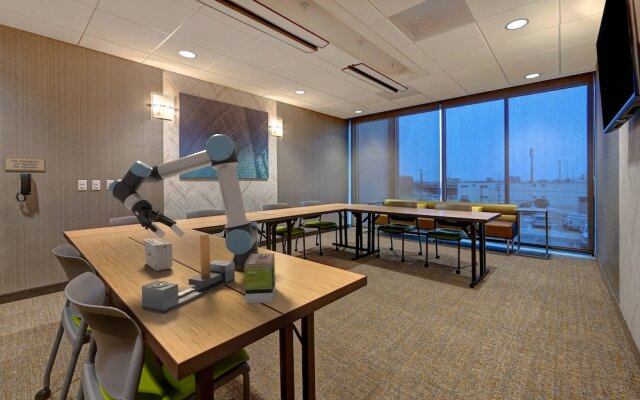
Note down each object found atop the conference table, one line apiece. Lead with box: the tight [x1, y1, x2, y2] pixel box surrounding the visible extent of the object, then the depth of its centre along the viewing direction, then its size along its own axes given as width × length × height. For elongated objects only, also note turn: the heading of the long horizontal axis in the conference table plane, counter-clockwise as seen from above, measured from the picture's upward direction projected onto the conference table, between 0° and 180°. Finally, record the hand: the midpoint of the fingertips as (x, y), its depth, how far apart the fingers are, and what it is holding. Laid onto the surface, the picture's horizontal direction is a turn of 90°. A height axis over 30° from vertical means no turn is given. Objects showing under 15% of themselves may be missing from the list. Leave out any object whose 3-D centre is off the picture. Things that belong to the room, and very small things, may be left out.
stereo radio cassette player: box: [142, 229, 173, 272], centre depth 150 cm, size 21×8×20 cm, turn 45°
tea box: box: [243, 252, 276, 304], centre depth 112 cm, size 15×10×15 cm, turn 5°
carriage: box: [188, 233, 222, 287], centre depth 120 cm, size 10×8×19 cm
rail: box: [141, 259, 236, 315], centre depth 115 cm, size 36×10×9 cm, turn 158°
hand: (173, 235), depth 126 cm, fingers open, 13 cm apart
